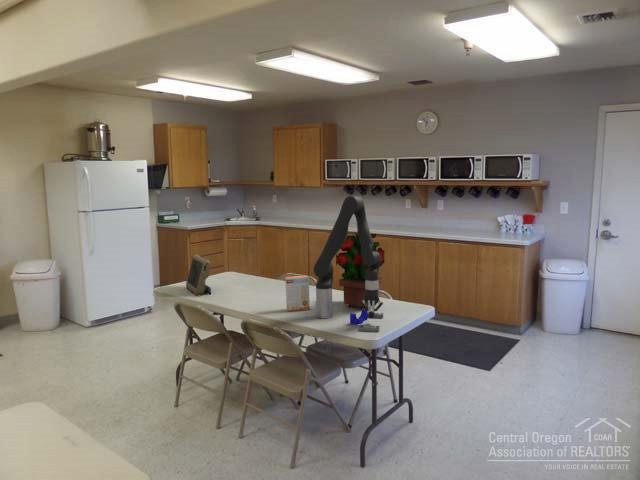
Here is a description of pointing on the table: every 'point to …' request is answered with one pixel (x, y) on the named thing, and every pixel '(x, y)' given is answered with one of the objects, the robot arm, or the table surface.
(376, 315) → the label stands
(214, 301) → the table surface
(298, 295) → the cracker box
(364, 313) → the cable clip
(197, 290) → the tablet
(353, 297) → the potted plant
